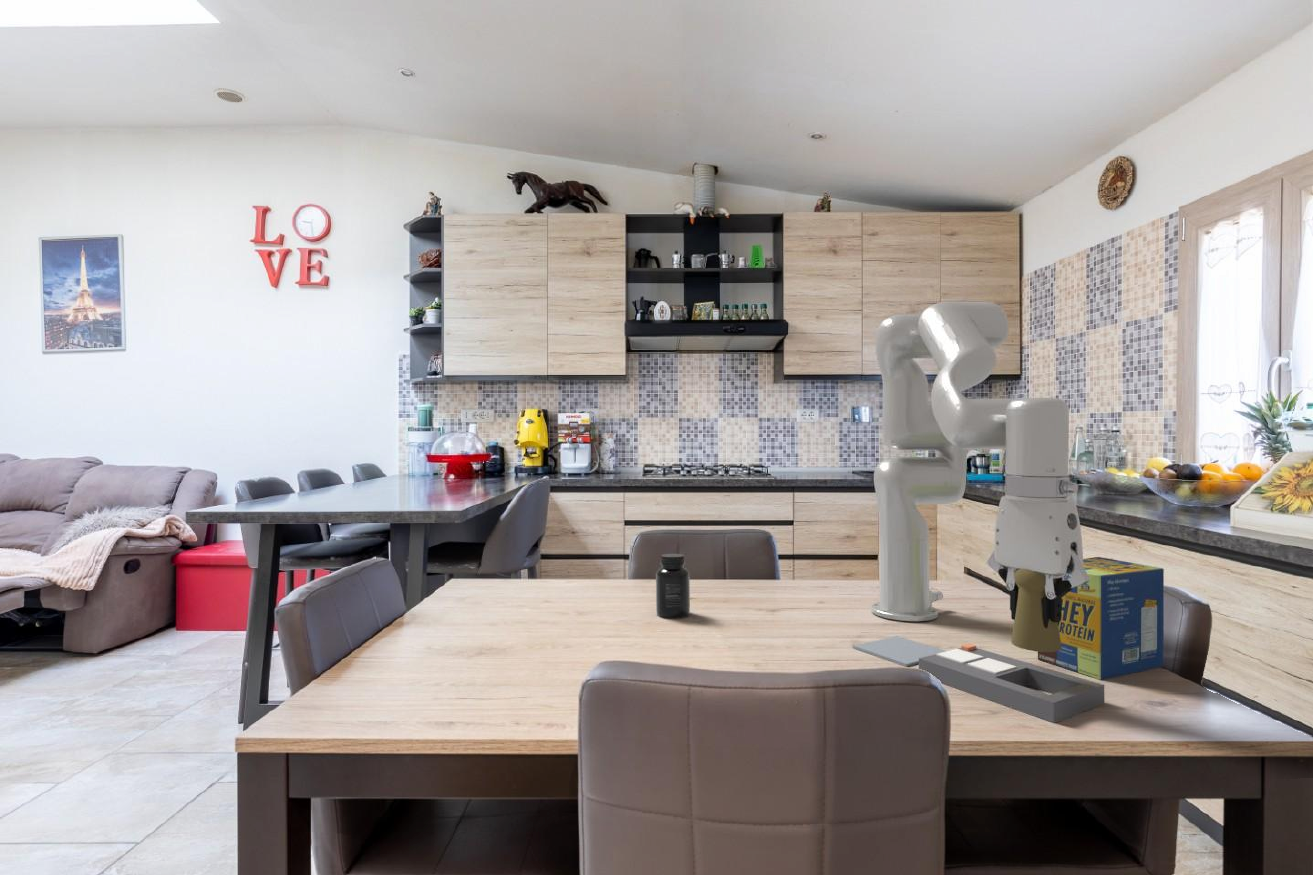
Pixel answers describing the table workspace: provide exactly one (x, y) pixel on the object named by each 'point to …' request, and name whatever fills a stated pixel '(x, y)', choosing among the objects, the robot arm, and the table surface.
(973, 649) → the grey compartment tray
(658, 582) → the supplement bottle
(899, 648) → the slate mat
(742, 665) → the table surface
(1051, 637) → the cork
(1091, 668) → the protein box
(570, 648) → the table surface
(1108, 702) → the table surface
